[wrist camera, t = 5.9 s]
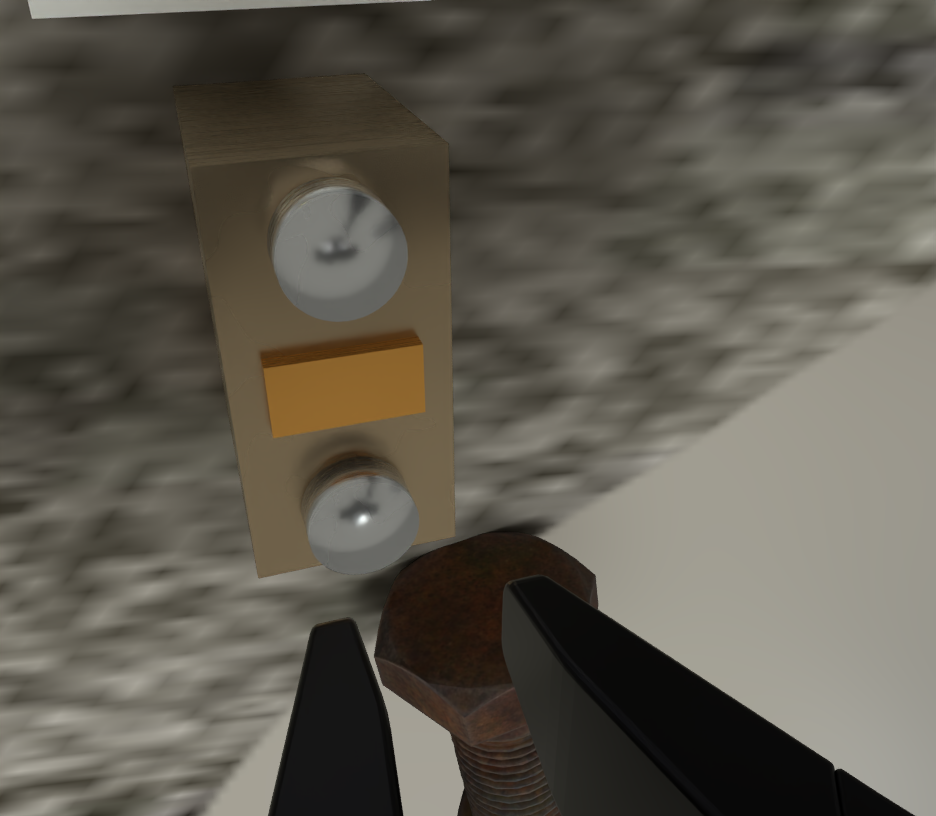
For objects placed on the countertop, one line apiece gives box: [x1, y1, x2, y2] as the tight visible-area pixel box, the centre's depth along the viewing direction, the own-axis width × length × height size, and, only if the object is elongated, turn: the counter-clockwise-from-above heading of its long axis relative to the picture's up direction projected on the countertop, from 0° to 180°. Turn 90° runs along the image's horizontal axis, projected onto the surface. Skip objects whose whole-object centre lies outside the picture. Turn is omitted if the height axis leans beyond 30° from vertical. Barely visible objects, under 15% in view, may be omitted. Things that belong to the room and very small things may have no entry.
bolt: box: [374, 532, 598, 816], centre depth 26 cm, size 6×5×15 cm
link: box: [173, 73, 455, 578], centre depth 16 cm, size 7×4×6 cm, turn 0°
